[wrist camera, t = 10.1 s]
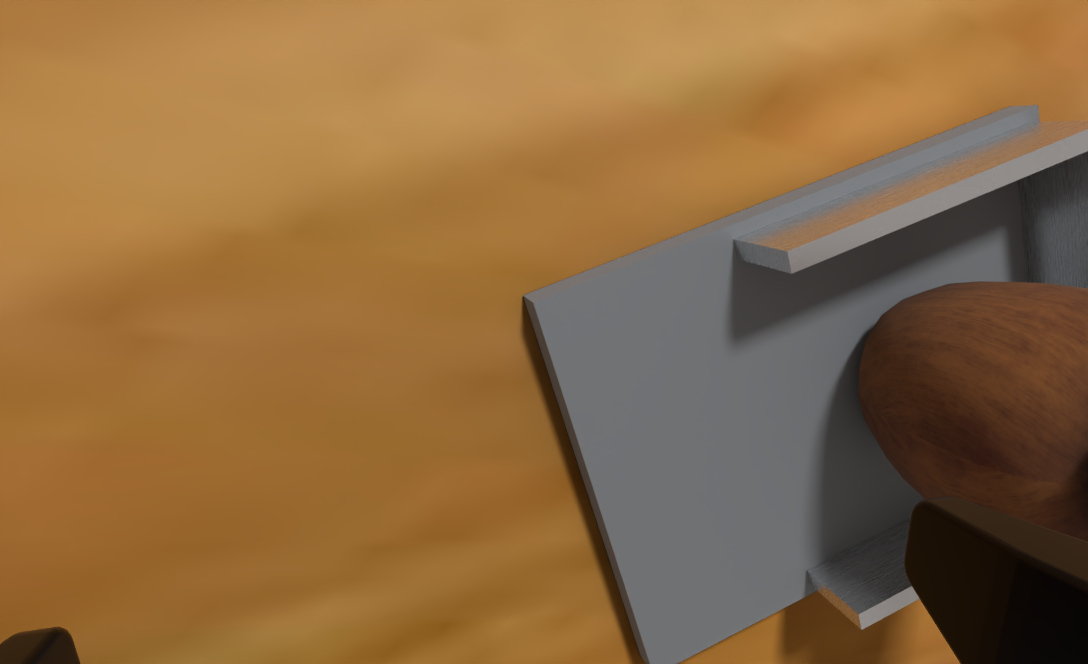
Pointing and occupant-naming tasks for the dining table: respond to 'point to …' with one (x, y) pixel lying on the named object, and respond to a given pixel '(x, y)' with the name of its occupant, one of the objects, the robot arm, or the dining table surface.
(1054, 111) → the dining table surface
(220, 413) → the dining table surface
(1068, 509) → the wooden figurine
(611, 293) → the grey shallow rectangular tray
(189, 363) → the dining table surface
